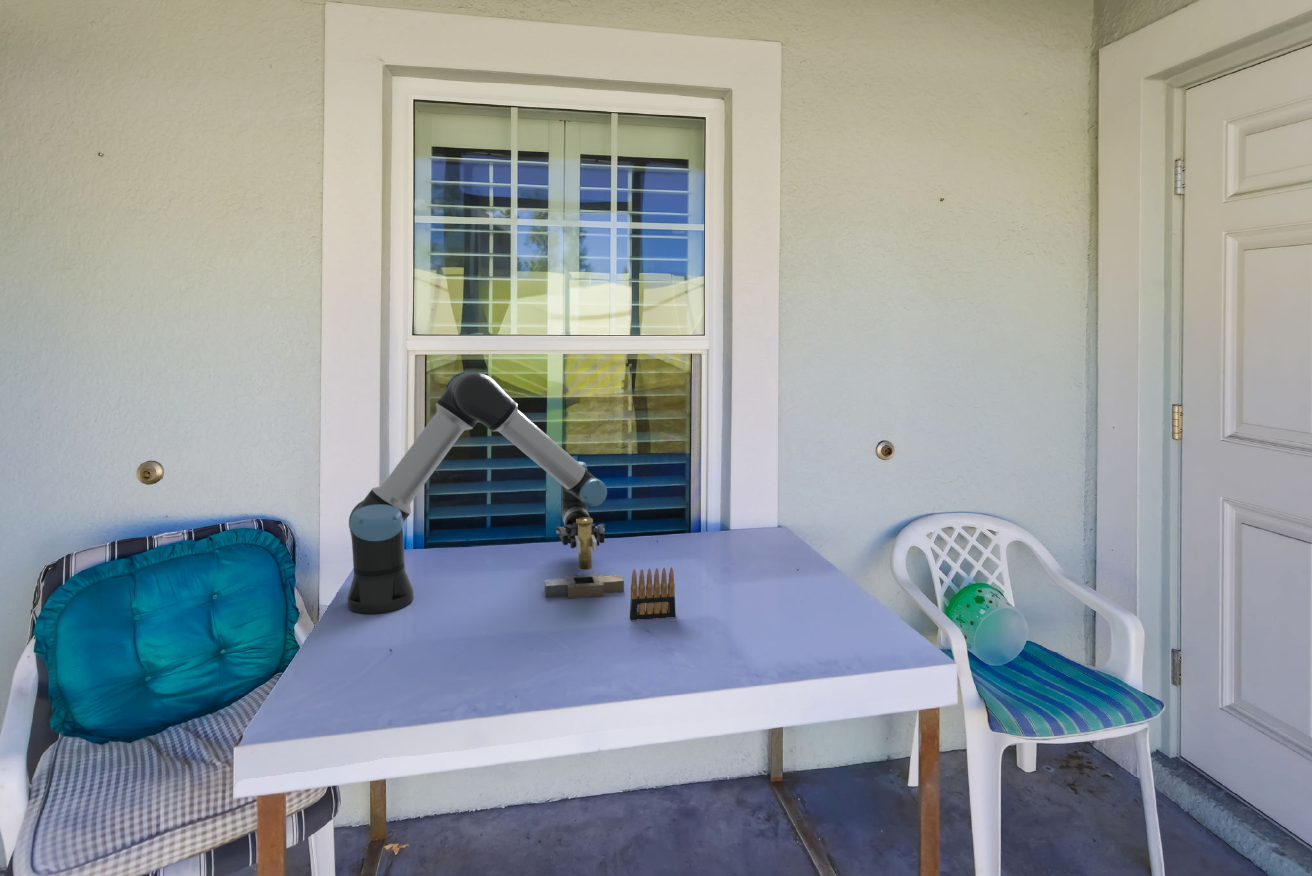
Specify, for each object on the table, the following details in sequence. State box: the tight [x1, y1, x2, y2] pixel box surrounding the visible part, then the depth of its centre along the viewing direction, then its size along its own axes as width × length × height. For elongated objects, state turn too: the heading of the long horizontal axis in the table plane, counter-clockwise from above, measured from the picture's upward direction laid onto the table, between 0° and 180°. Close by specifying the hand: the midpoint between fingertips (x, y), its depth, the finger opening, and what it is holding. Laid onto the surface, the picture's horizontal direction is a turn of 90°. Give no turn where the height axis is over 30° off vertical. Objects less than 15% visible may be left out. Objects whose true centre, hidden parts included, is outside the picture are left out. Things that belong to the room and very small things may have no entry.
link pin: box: [576, 517, 594, 571], centre depth 179 cm, size 4×4×13 cm
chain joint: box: [544, 573, 625, 600], centre depth 180 cm, size 20×9×3 cm, turn 102°
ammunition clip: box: [629, 566, 677, 621], centre depth 163 cm, size 11×2×12 cm, turn 100°
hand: (587, 547), depth 174 cm, fingers closed on link pin, 3 cm apart
